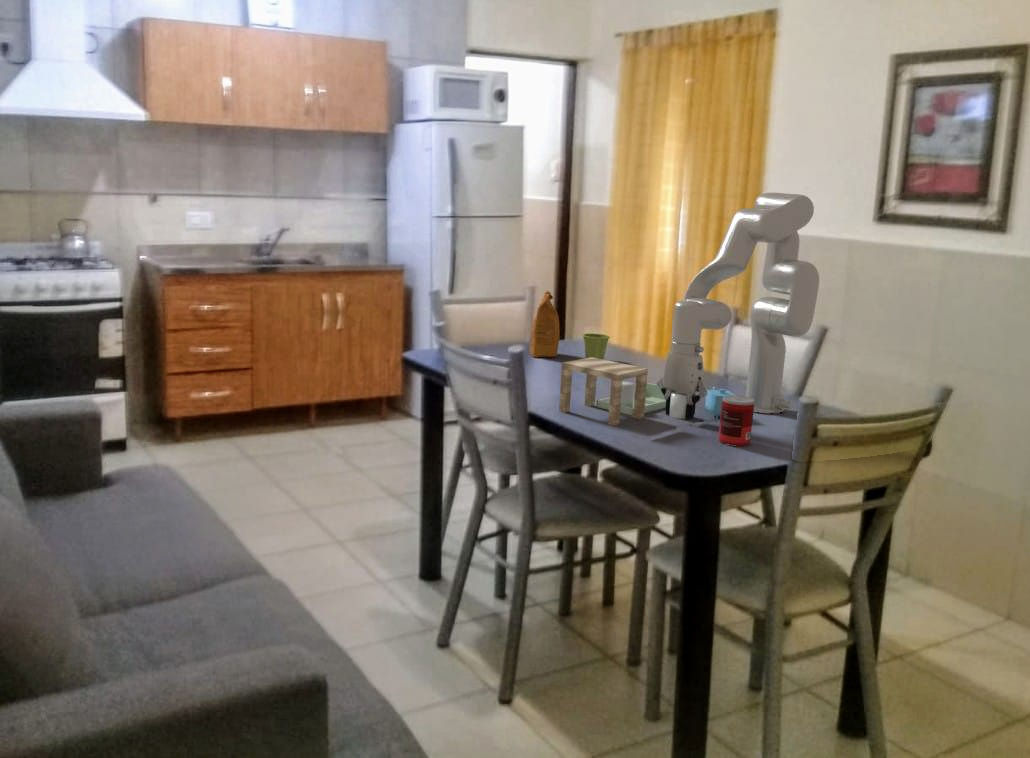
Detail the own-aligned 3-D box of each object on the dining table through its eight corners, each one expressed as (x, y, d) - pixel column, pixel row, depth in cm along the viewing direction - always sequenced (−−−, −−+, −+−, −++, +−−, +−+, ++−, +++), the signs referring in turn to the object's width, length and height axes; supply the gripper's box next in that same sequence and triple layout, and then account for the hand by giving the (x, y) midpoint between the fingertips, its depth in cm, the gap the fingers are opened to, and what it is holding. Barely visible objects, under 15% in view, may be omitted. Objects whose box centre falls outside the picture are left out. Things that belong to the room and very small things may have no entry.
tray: (682, 405, 275) (683, 390, 274) (633, 418, 257) (634, 402, 256) (646, 397, 283) (647, 382, 282) (596, 409, 265) (597, 393, 264)
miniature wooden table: (643, 421, 256) (647, 368, 253) (614, 429, 246) (618, 374, 243) (588, 407, 267) (592, 357, 264) (558, 414, 257) (562, 362, 255)
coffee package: (557, 352, 346) (561, 290, 341) (558, 359, 334) (562, 295, 329) (529, 351, 346) (533, 289, 341) (529, 357, 334) (532, 293, 329)
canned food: (745, 438, 244) (749, 395, 241) (753, 447, 236) (758, 403, 234) (714, 437, 243) (719, 394, 241) (722, 446, 236) (726, 401, 233)
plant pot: (576, 357, 338) (578, 333, 337) (602, 357, 341) (603, 333, 339) (586, 363, 330) (588, 337, 328) (612, 363, 332) (614, 337, 331)
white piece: (693, 419, 259) (695, 393, 258) (682, 422, 255) (684, 396, 254) (676, 415, 263) (678, 390, 261) (665, 418, 259) (667, 392, 257)
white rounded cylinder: (636, 409, 264) (639, 384, 262) (625, 412, 260) (627, 386, 258) (620, 405, 267) (622, 380, 266) (608, 408, 263) (610, 383, 262)
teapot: (700, 409, 272) (702, 383, 270) (720, 409, 273) (723, 383, 271) (716, 420, 260) (718, 393, 259) (737, 421, 262) (740, 393, 260)
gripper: (721, 352, 252) (715, 420, 256) (665, 342, 263) (660, 407, 267) (706, 355, 247) (700, 425, 251) (649, 345, 258) (644, 411, 262)
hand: (679, 415), depth 259 cm, fingers closed on white piece, 5 cm apart
